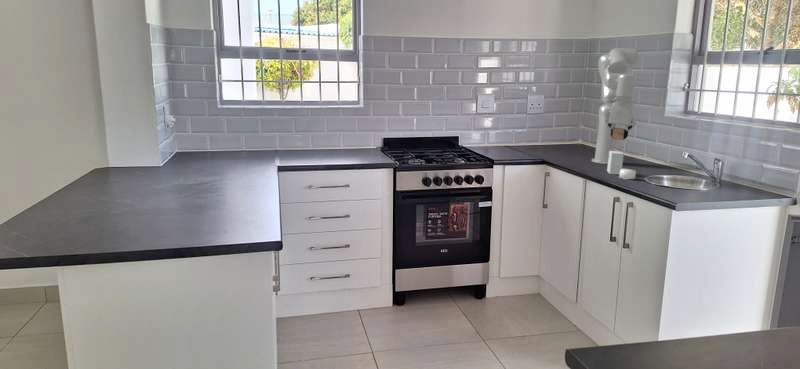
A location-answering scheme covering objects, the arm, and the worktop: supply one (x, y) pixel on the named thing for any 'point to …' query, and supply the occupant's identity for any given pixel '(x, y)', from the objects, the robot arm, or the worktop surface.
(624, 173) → the white small lump
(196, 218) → the worktop surface
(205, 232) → the worktop surface
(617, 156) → the small box
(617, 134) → the walnut cube
